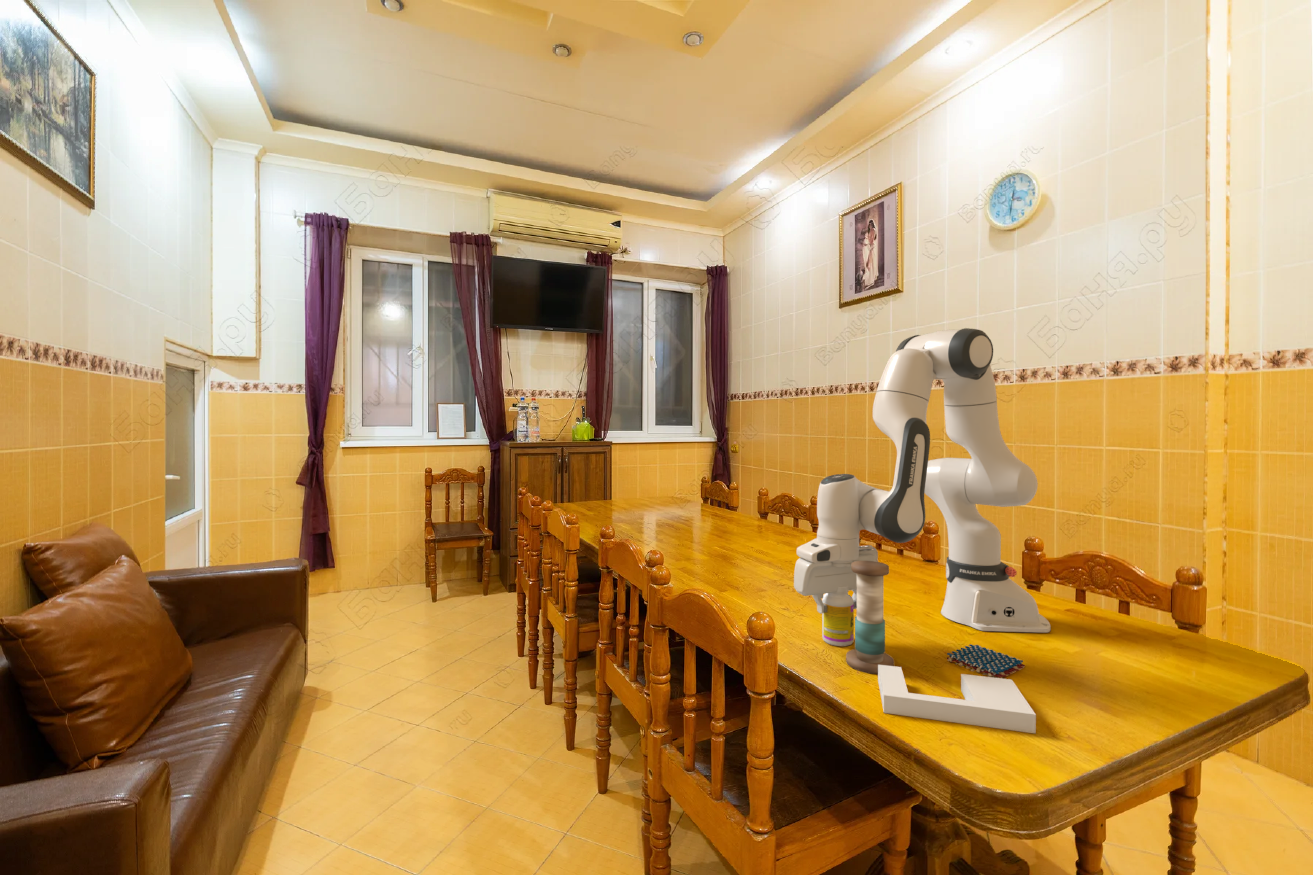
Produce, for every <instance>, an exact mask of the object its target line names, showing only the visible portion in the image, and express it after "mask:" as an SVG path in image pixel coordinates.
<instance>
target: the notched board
mask: <svg viewBox="0 0 1313 875" xmlns="http://www.w3.org/2000/svg"><path fill="white" fill-rule="evenodd" d="M960 679H961V680H960V691H961V693H962V695H963V698H964V699H961V698H954V697H953V698H952V697H944V696H938V695H930V694H929V695H928V694H921V693H913V692H909V691H908V688H907V684H906V683H907V682H906V680H905V676H904V673H903V670H902V666H895V665H894V666H887V665H878V674H877V682H878V687H879V693H880V698H881V704H882V709H883V713H884V714H889V715H898V716H904V717H911V718H912V717H913V718H921V719H927V720H934V721H941V722H949V723H957V724H963V725H972V726H978V727H986V728H992V729H993V728H994V729H1000V730H1007V731H1008V730H1009V731H1013V732H1014V731H1016V732H1022V733H1028V734H1037V733H1036V730H1037V726H1036V724H1037V714H1036V713H1035V711H1034V709H1033V708H1032V707H1031V706H1030V704H1029V703H1028V701H1027V699H1026V698H1025V697H1024V695H1023V694H1022V693H1021V691H1020V689H1019V688H1018V686H1017V685H1016V683H1015V682H1014V681H1013V679H1010V678H1008V679H1007V678H1003V677H1002V678H996V677H988V676H985V675H984V676H983V675H982V676H981V675H976V674H975V675H973V674H966V673H960Z"/></svg>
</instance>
